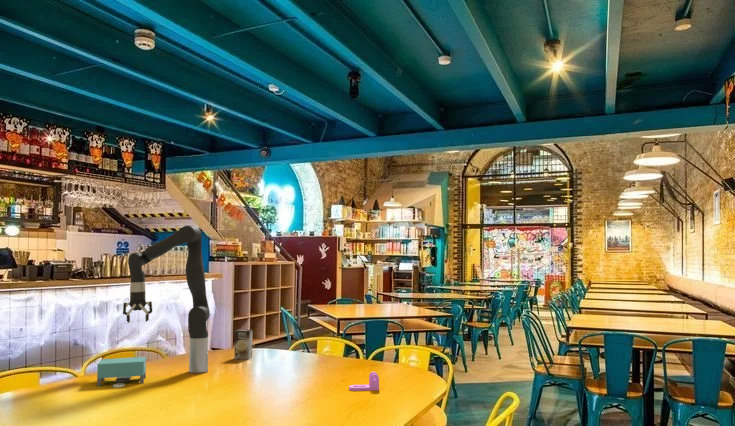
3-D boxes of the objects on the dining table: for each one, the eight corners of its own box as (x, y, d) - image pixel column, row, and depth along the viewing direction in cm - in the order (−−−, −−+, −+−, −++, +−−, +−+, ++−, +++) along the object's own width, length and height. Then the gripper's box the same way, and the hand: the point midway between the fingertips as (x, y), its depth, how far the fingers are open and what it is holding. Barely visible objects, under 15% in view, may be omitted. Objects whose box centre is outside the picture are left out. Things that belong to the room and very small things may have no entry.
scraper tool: (122, 370, 307) (122, 359, 307) (134, 370, 309) (134, 358, 309) (115, 382, 280) (115, 369, 280) (129, 381, 282) (129, 368, 282)
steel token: (125, 385, 274) (125, 383, 275) (123, 388, 270) (123, 385, 270) (114, 386, 274) (114, 383, 274) (111, 388, 269) (111, 386, 269)
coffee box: (233, 359, 337) (233, 330, 338) (237, 357, 344) (237, 329, 345) (249, 359, 336) (249, 330, 337) (252, 357, 343) (252, 329, 344)
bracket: (377, 387, 267) (377, 371, 267) (379, 390, 261) (378, 374, 262) (348, 388, 266) (348, 372, 266) (349, 391, 260) (349, 375, 260)
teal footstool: (145, 377, 291) (145, 356, 291) (143, 383, 278) (143, 361, 279) (101, 380, 285) (101, 359, 286) (97, 386, 272) (97, 364, 273)
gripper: (152, 289, 316) (152, 320, 315) (123, 291, 312) (123, 322, 311) (151, 290, 309) (151, 322, 308) (122, 291, 305) (122, 323, 304)
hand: (137, 322), depth 310 cm, fingers open, 8 cm apart
